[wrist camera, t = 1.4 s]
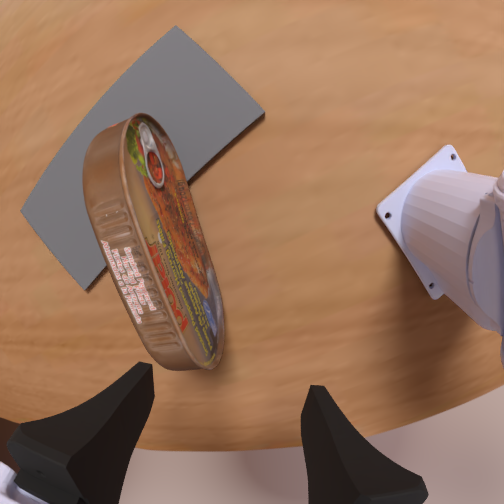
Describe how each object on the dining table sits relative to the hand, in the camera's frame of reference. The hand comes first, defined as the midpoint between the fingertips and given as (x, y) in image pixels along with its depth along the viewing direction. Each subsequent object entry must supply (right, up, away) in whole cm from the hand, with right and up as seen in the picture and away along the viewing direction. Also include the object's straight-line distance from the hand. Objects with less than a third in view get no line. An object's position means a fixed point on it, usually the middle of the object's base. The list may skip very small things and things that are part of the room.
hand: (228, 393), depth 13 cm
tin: (-4, +8, +8) cm, 12 cm away
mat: (-8, +12, +7) cm, 17 cm away
